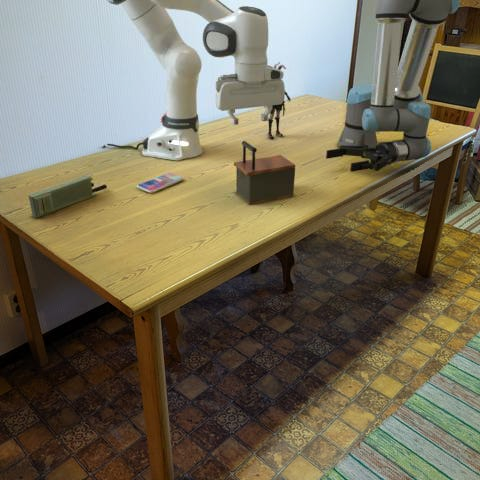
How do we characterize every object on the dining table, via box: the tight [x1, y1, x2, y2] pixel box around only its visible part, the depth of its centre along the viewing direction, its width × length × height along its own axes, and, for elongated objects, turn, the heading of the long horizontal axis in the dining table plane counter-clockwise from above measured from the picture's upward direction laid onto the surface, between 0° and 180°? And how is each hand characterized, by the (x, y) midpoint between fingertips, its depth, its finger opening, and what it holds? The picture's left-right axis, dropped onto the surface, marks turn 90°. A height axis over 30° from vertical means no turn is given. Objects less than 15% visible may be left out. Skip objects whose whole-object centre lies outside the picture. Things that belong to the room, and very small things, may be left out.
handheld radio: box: [28, 173, 108, 219], centre depth 150 cm, size 7×3×25 cm
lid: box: [233, 140, 296, 176], centre depth 152 cm, size 16×9×8 cm, turn 115°
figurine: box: [263, 61, 291, 140], centre depth 201 cm, size 15×6×30 cm, turn 132°
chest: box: [235, 167, 296, 205], centre depth 156 cm, size 15×9×10 cm, turn 115°
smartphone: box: [136, 172, 184, 194], centre depth 164 cm, size 7×1×15 cm
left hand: (249, 122), depth 145 cm, fingers open, 8 cm apart
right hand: (338, 160), depth 165 cm, fingers open, 13 cm apart
